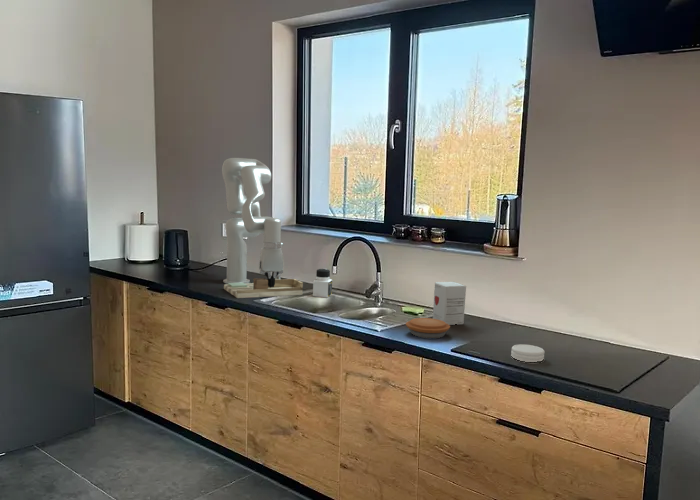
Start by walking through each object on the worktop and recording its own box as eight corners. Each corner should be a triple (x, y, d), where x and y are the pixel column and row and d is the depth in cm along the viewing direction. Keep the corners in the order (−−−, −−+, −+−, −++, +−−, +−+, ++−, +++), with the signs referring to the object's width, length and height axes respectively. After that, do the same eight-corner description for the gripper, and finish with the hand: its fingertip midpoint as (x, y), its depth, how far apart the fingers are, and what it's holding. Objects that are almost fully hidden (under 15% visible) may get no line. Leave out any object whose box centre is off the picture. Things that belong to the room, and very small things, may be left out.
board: (223, 288, 286) (224, 276, 285) (285, 285, 299) (285, 274, 298) (237, 298, 266) (237, 285, 266) (302, 294, 280) (302, 282, 279)
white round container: (506, 354, 198) (507, 343, 198) (536, 354, 199) (537, 344, 199) (517, 363, 188) (518, 352, 188) (549, 364, 189) (550, 353, 189)
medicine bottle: (328, 297, 275) (329, 270, 274) (312, 296, 277) (313, 269, 275) (331, 294, 282) (332, 268, 281) (316, 293, 284) (317, 267, 282)
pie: (450, 331, 224) (451, 317, 224) (447, 342, 209) (448, 327, 209) (408, 327, 228) (409, 314, 227) (402, 337, 213) (403, 323, 212)
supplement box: (431, 320, 241) (433, 281, 239) (451, 318, 244) (454, 281, 242) (443, 325, 232) (446, 286, 230) (464, 324, 236) (466, 285, 234)
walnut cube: (253, 289, 276) (253, 278, 276) (264, 289, 278) (264, 278, 278) (256, 291, 272) (257, 280, 271) (267, 291, 274) (268, 279, 273)
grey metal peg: (273, 283, 292) (273, 269, 292) (279, 283, 294) (279, 268, 293) (275, 284, 290) (275, 270, 289) (281, 284, 291) (281, 269, 290)
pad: (228, 284, 285) (228, 283, 285) (242, 284, 288) (242, 282, 288) (232, 287, 279) (232, 285, 279) (247, 287, 282) (247, 285, 282)
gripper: (284, 244, 282) (283, 284, 284) (252, 245, 275) (252, 286, 277) (290, 246, 275) (289, 287, 277) (258, 247, 268) (257, 289, 271)
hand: (271, 286), depth 277 cm, fingers closed
